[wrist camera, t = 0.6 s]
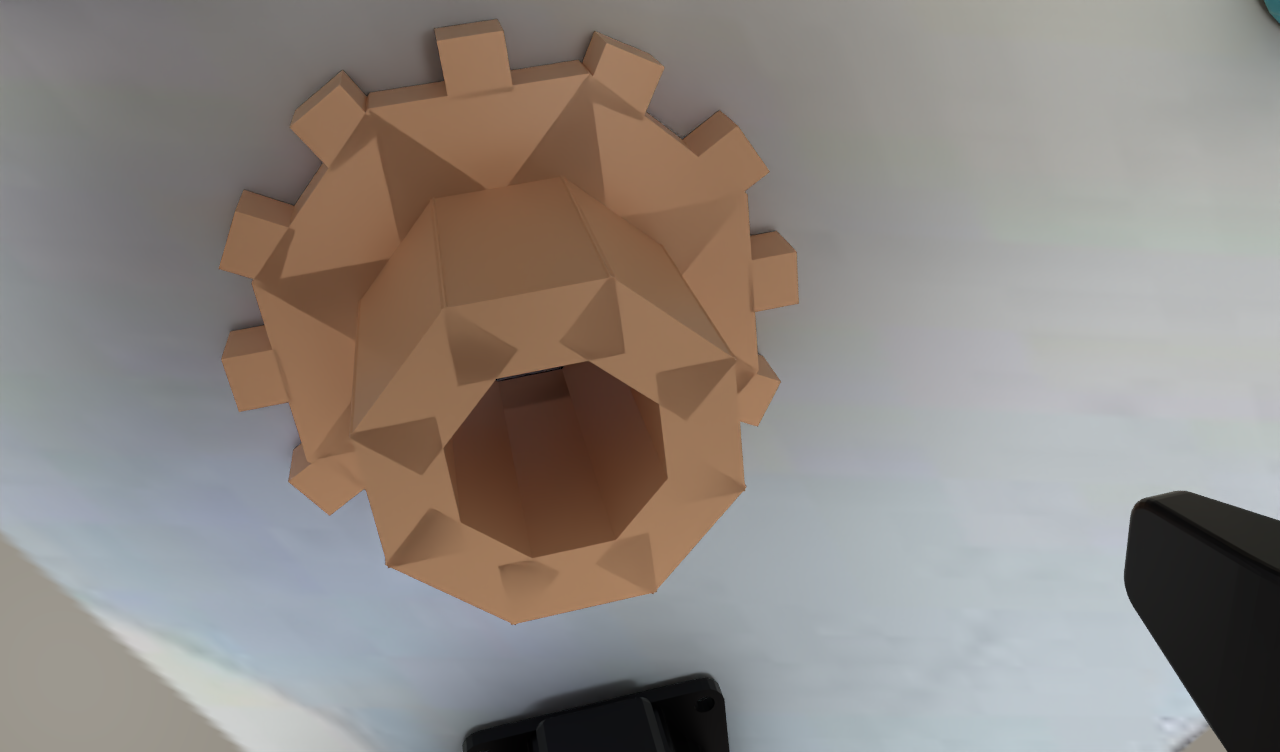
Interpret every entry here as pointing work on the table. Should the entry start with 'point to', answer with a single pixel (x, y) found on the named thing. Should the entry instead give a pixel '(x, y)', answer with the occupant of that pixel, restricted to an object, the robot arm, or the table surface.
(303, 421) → the planet gear
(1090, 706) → the table surface
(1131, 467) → the table surface
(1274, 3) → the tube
